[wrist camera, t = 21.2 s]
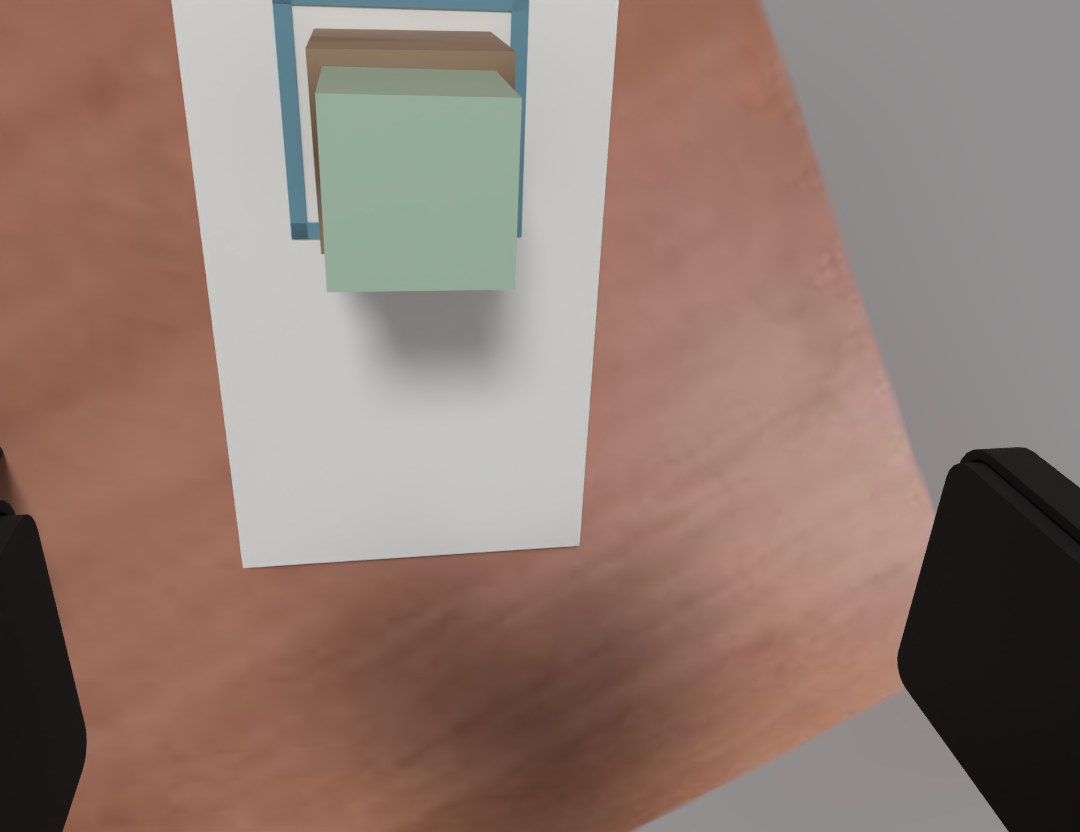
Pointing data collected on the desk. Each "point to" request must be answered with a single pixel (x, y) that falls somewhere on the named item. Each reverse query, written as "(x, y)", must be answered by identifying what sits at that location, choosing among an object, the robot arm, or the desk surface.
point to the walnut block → (400, 61)
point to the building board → (396, 299)
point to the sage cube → (418, 178)
